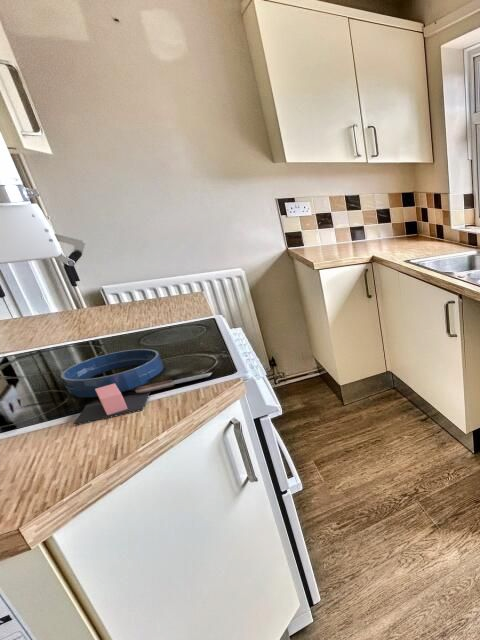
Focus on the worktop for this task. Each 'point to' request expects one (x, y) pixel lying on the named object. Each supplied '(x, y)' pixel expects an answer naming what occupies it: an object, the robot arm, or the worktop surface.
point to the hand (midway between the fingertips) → (40, 290)
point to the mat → (98, 412)
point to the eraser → (111, 399)
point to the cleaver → (168, 383)
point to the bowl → (124, 381)
